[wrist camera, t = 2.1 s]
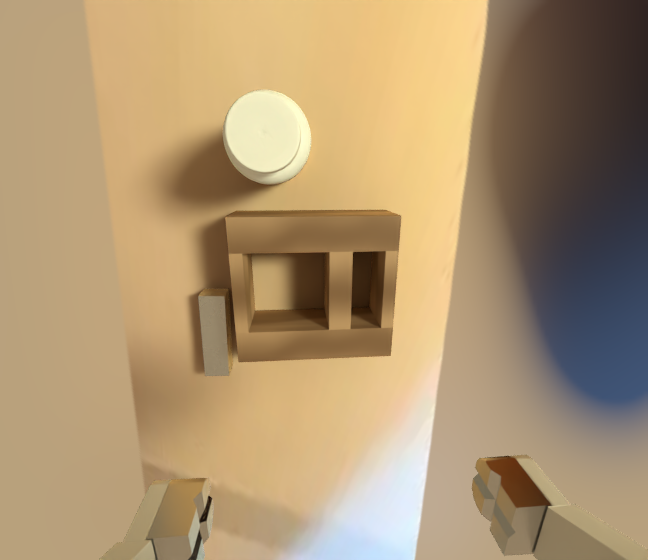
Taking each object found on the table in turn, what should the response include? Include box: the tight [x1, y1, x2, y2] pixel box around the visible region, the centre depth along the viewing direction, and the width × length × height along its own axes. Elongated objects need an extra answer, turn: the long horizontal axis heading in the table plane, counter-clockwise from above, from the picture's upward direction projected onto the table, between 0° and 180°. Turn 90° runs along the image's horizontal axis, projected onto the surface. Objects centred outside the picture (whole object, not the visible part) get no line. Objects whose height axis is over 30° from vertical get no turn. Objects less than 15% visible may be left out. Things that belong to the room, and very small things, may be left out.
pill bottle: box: [223, 90, 311, 185], centre depth 21 cm, size 5×5×10 cm
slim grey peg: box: [198, 289, 233, 376], centre depth 30 cm, size 8×2×2 cm, turn 178°
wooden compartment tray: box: [225, 210, 401, 362], centre depth 28 cm, size 12×13×4 cm
